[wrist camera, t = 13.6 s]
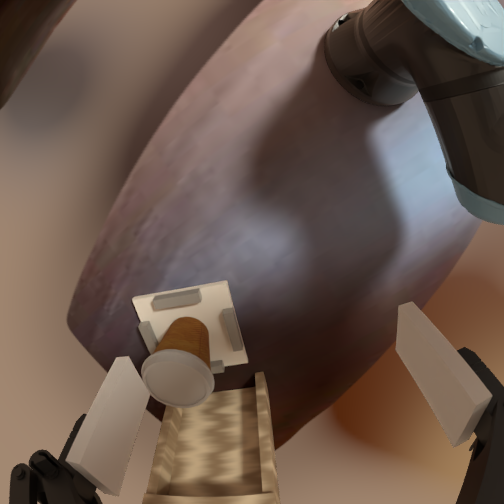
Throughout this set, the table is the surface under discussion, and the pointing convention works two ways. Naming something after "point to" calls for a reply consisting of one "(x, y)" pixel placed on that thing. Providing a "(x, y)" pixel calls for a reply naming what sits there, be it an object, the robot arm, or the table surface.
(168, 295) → the seat plate
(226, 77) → the table surface
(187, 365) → the disposable coffee cup
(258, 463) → the upright plywood slab
